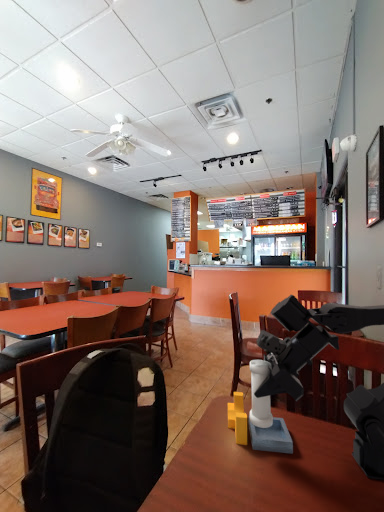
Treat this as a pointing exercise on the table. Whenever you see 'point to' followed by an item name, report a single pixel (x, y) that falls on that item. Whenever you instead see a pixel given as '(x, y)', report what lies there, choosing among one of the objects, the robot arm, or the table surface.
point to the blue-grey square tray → (271, 437)
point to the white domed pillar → (261, 405)
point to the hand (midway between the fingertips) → (254, 390)
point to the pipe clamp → (238, 418)
